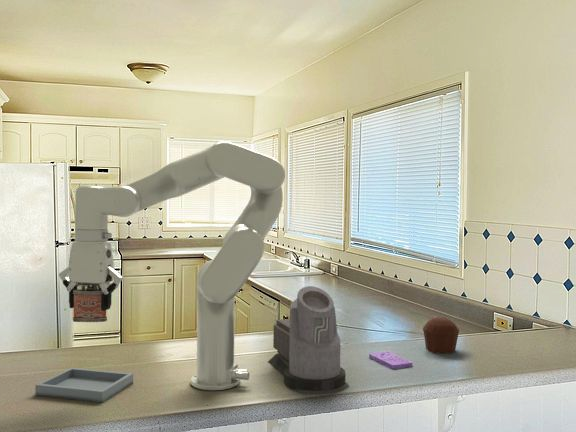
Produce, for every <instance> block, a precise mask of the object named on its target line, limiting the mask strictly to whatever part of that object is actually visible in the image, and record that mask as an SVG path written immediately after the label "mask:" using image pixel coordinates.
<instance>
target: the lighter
mask: <svg viewBox="0 0 576 432" xmlns="http://www.w3.org/2000/svg"><path fill="white" fill-rule="evenodd" d="M76 286H79V287H81V288H80V289H79V288H78V289H77V290H73V294H74V308H73V317H72V322H73V323H74V322H75V323H104V322H107V321H108V316H107V310H105V311H102V310H101V295H102V294H104V293H103V291H102V289H101V287H100V285H99V284H86V283H76Z"/></svg>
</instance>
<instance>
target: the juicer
mask: <svg viewBox="0 0 576 432" xmlns="http://www.w3.org/2000/svg"><path fill="white" fill-rule="evenodd" d="M296 295H297V298H296V299H294V300H293V301H292V302H291V303H290V307H289V318H285V319H276V320H275V321H276V322H275V324H274V325H273V339H272V340H273V345H272V346H273V348H274V349H275V350H277V353H276V354H274V355H273V356H272V357H271V358H270V359H269V360H268V361H267V363H268V364H269V363H270V364H271V365H270V364H269V365H270V366H272V367H273V368H274V369H275V370H277V372H278V373H279V374H281V375H282V376H283V384H284V385H285V386H286V387H287V388H289V389H291V390H295V391H297V393H299V394H304V395H331V394H337V393H341V392H343V391H345V390H347V389H348V388H349V387H350V385H349V384H348V383H347V382H346V370H345V369H344V368H343V367H341V337H340V335H339V334H338V325H337V316H336V308H335V305H334V304H335V303H334V300H333V299H332V296H331V295H330V294H328V292H326V291H325V290H324V289H322V288H320V287H318V286H317V287H316V286H310V285H308V286H304V287H302V288H301V289H299V291H298V292H297V294H296Z"/></svg>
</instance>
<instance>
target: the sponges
mask: <svg viewBox="0 0 576 432" xmlns="http://www.w3.org/2000/svg"><path fill="white" fill-rule="evenodd" d="M368 355H369V356H368V358H369V359H371V360H373V361H375V362H377V363H379V364H381V365H384V366H385V367H387V368H389V369H391V370H398V369H403V368H411V367H413V365H414V364H413V361H410V360H408V359H406V358H403V357H402V356H399V355H398V354H395V353H393V352H391V351H389V350H385V351H378V352H377V351H376V352H371V353H369V354H368Z"/></svg>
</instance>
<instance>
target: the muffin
mask: <svg viewBox="0 0 576 432" xmlns="http://www.w3.org/2000/svg"><path fill="white" fill-rule="evenodd" d="M422 331H423V337H424V344H425V349H426V350H427V352H430V353H433V354H434V353H435V354H443V355H445V354H453V353H455V352H456V349H457V343H458V338H459V333H460V329H459V328H458V326H457V325H456V323H454V321H452V320H451V319H449V318H447V317H440V316H439V317H434V318H430V319H429V320H428V321H427V322H426V323H425V324H424V325H423V327H422Z"/></svg>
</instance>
